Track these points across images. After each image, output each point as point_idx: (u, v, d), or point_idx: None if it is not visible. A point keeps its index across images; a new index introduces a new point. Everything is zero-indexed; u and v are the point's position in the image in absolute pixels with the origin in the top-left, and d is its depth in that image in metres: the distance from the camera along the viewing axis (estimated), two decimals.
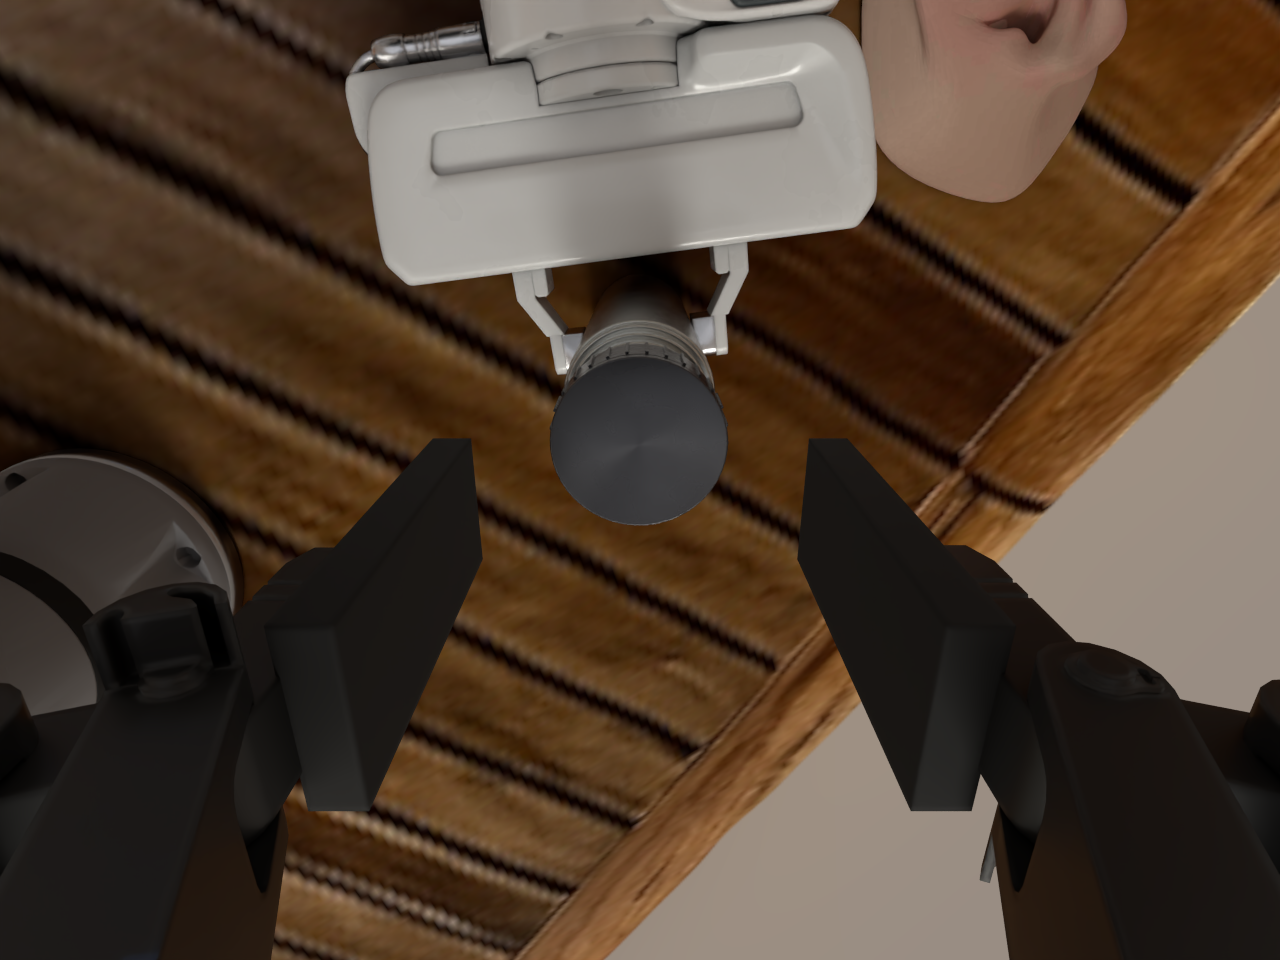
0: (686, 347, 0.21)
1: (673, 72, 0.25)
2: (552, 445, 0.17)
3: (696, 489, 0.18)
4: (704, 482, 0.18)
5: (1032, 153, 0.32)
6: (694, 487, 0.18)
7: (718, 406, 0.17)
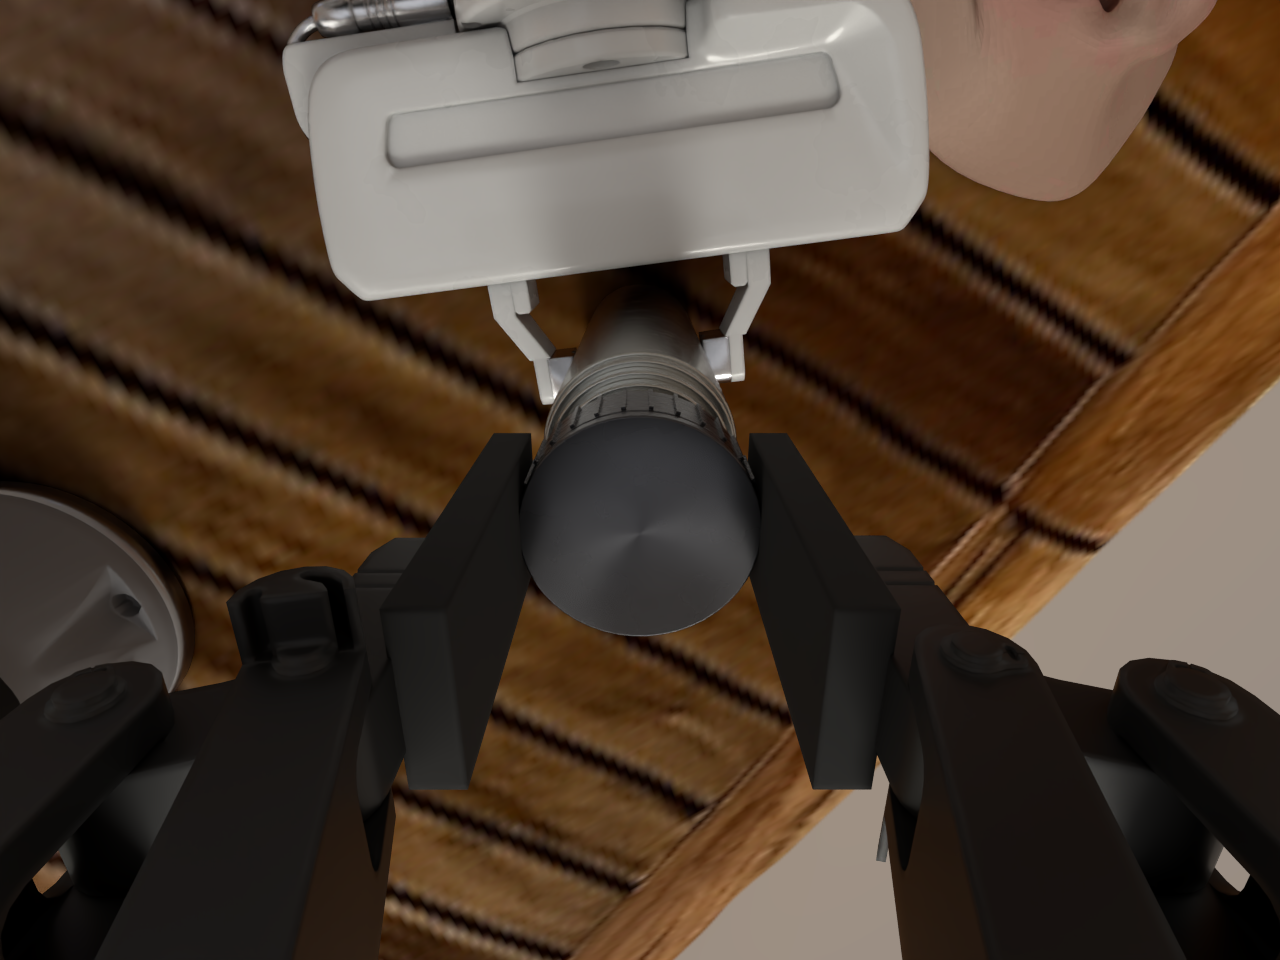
0: (701, 388, 0.16)
1: (681, 40, 0.20)
2: (521, 534, 0.13)
3: (718, 590, 0.13)
4: (729, 582, 0.13)
5: (1099, 143, 0.28)
6: (715, 588, 0.13)
7: (750, 482, 0.12)
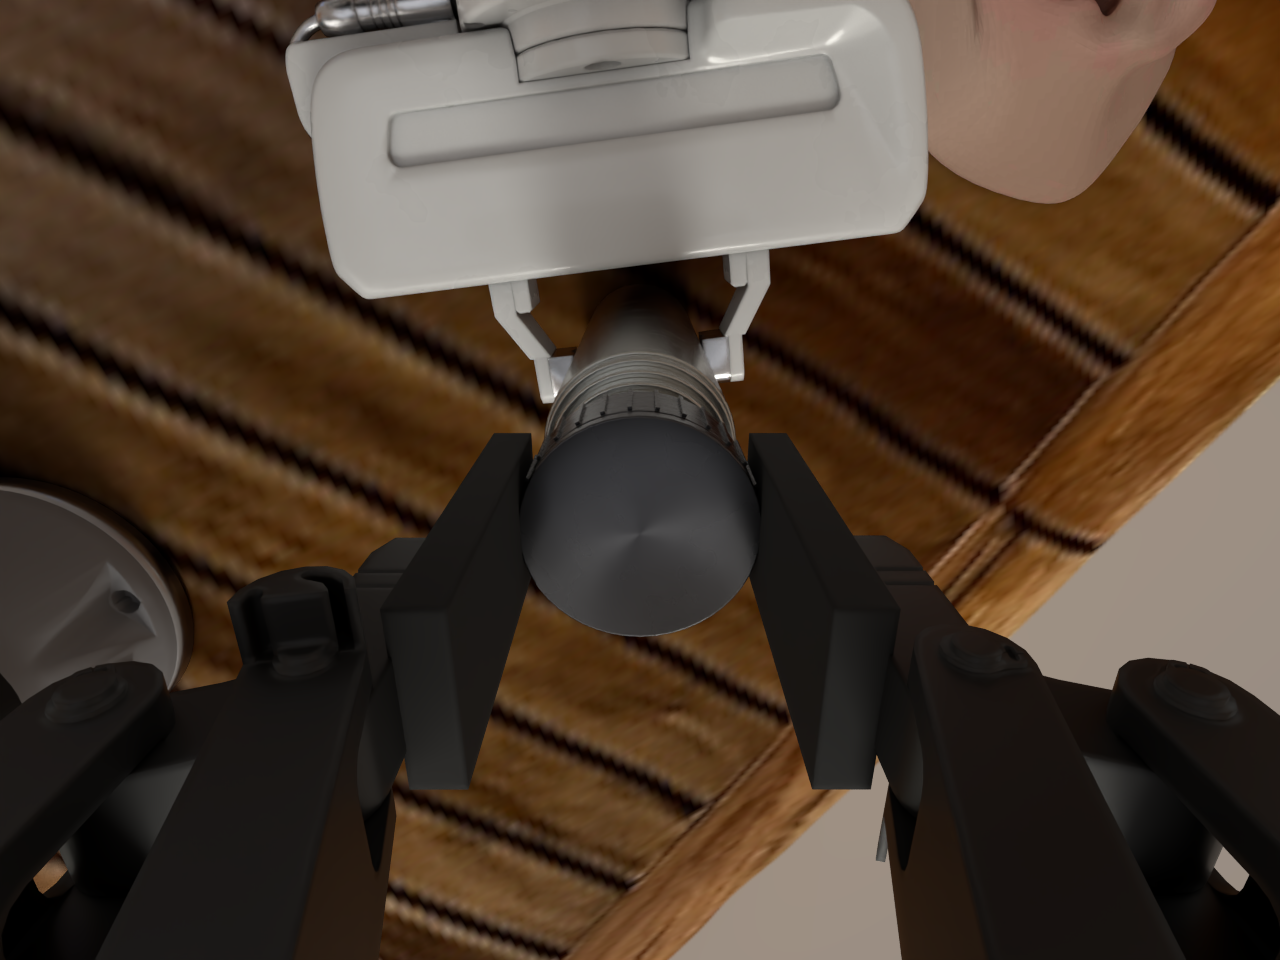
0: (701, 387, 0.16)
1: (683, 41, 0.20)
2: (676, 629, 0.13)
3: (678, 440, 0.12)
4: (663, 434, 0.12)
5: (1098, 146, 0.28)
6: (675, 444, 0.12)
7: (548, 456, 0.12)
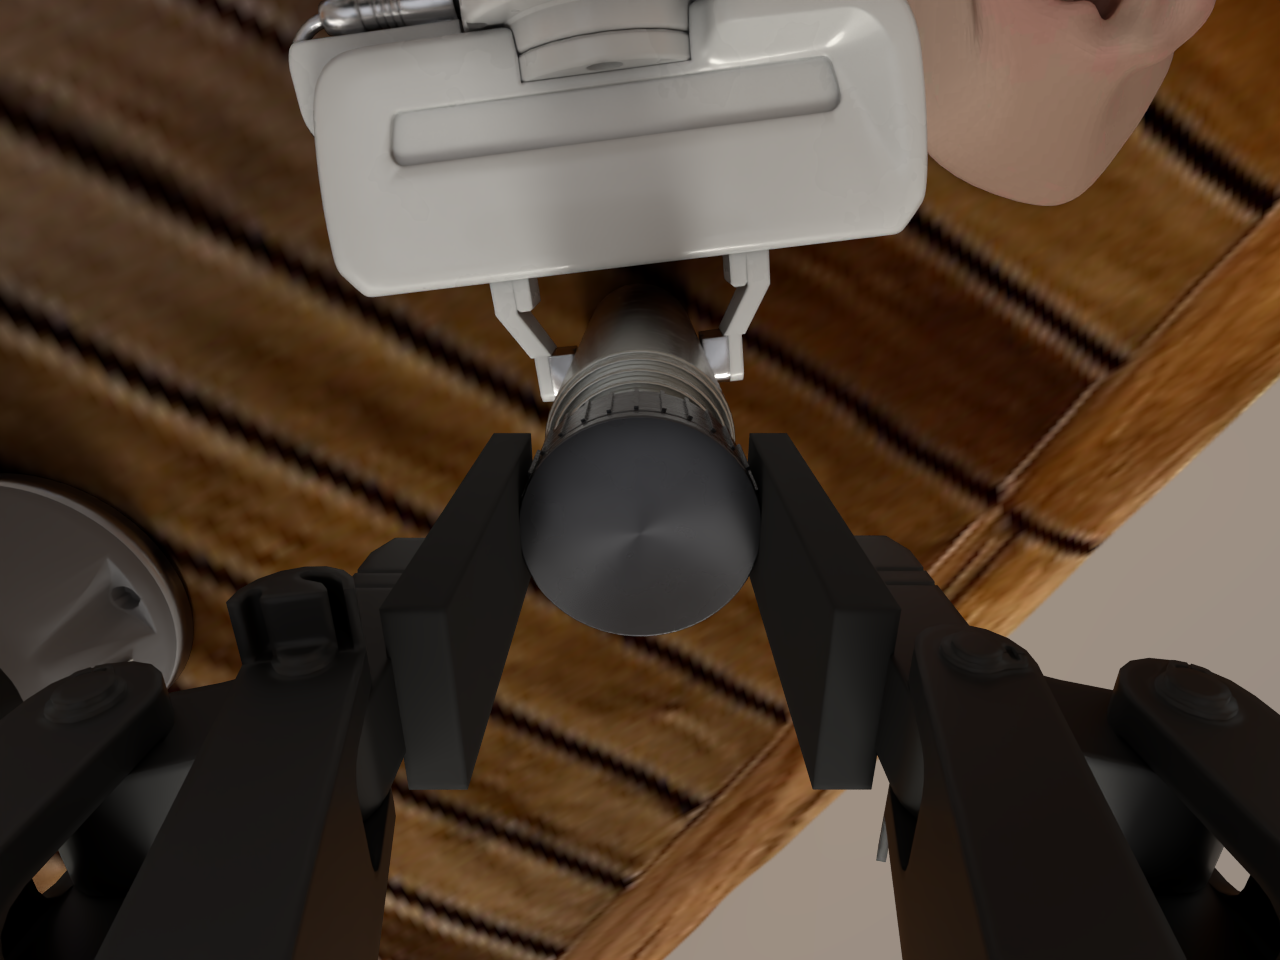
0: (701, 386, 0.16)
1: (684, 43, 0.20)
2: (738, 465, 0.12)
3: (535, 531, 0.13)
4: (534, 545, 0.13)
5: (1096, 149, 0.28)
6: (539, 532, 0.12)
7: None
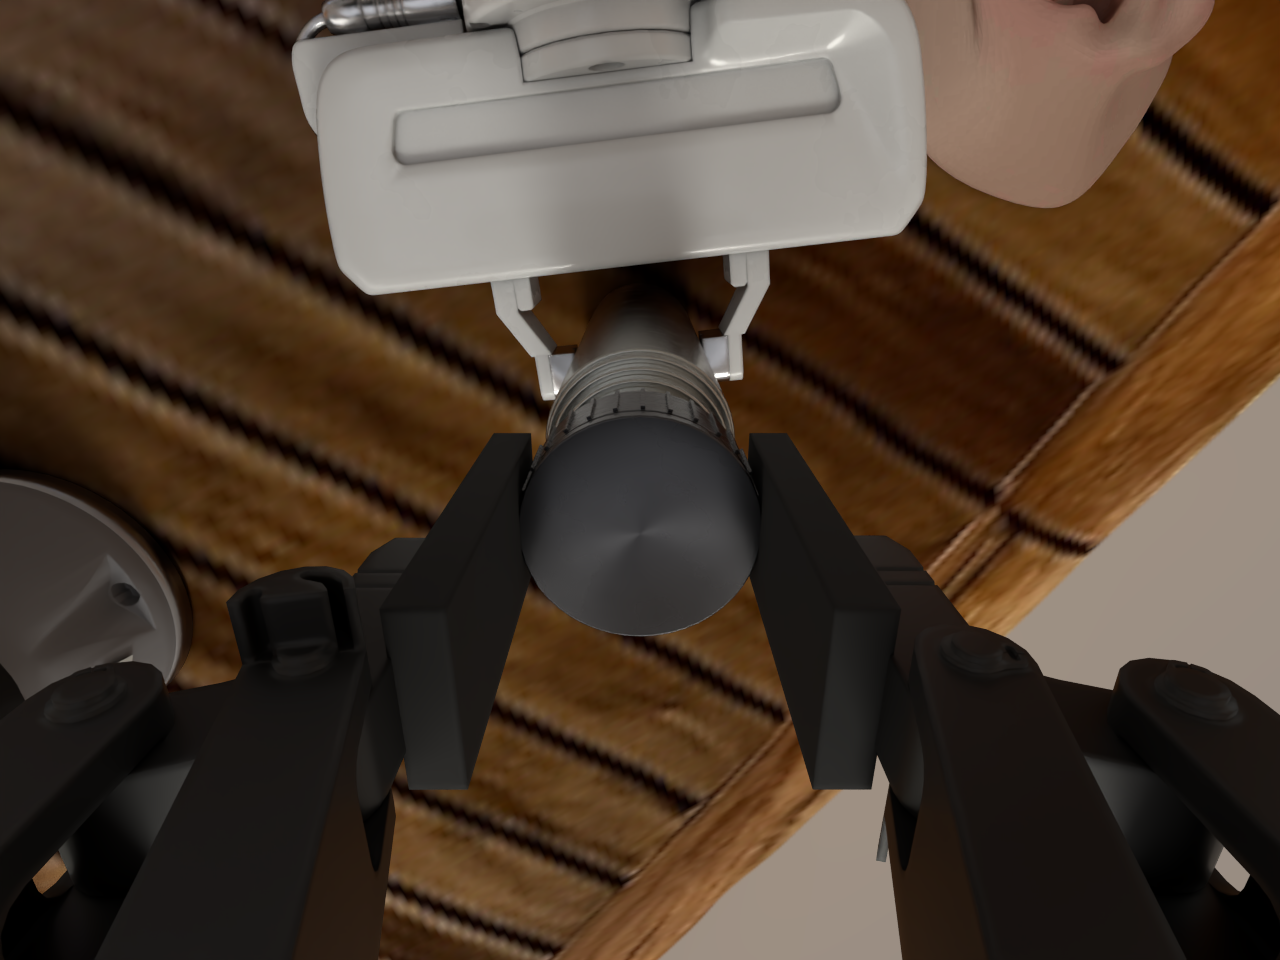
0: (701, 385, 0.16)
1: (686, 44, 0.21)
2: (537, 472, 0.12)
3: (670, 618, 0.13)
4: (684, 616, 0.13)
5: (1094, 152, 0.28)
6: (669, 615, 0.13)
7: None
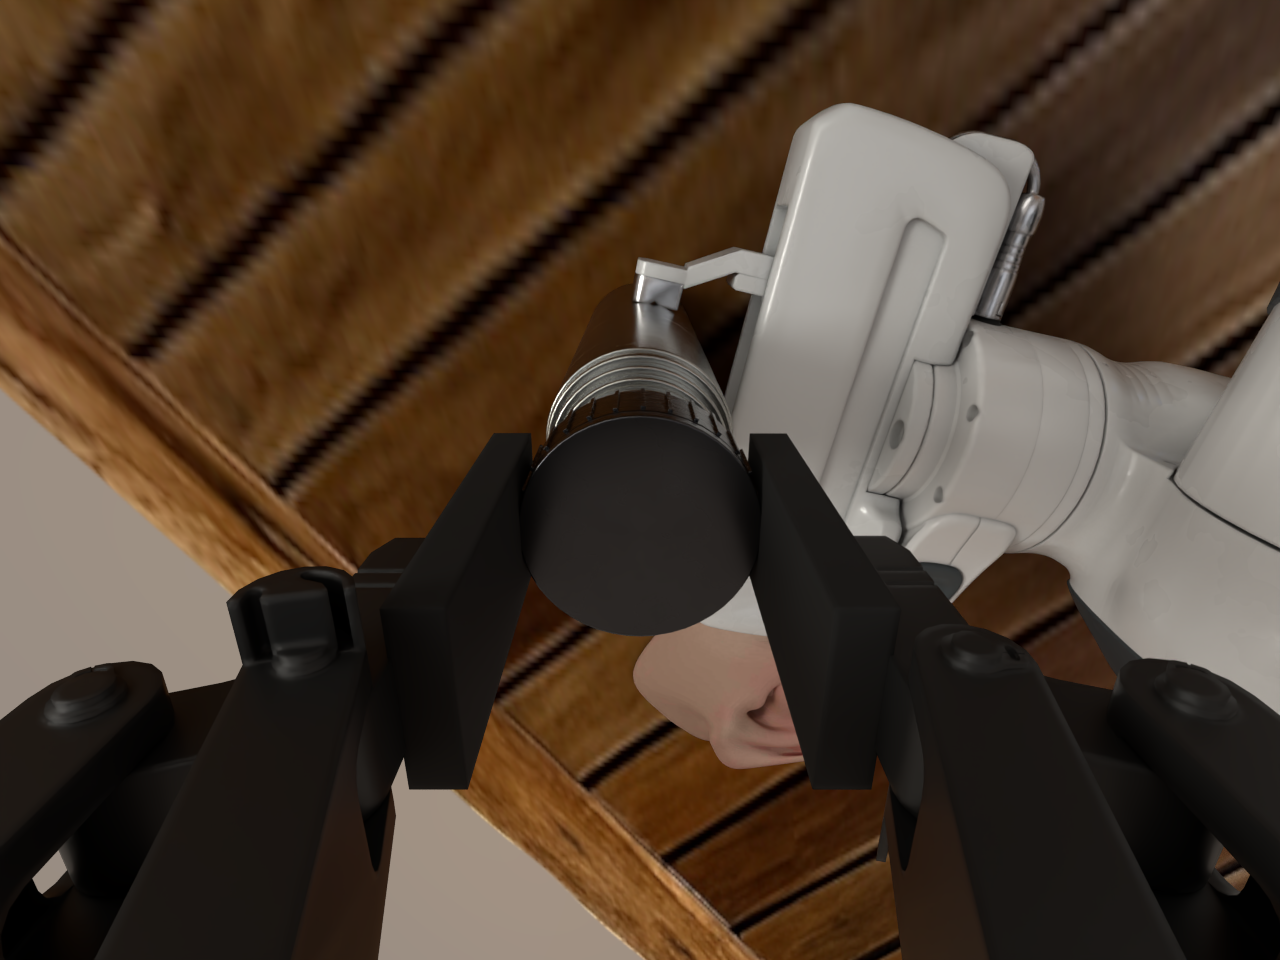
0: None
1: (879, 491, 0.26)
2: (537, 472, 0.12)
3: (670, 618, 0.13)
4: (684, 616, 0.13)
5: (665, 699, 0.39)
6: (669, 615, 0.13)
7: None
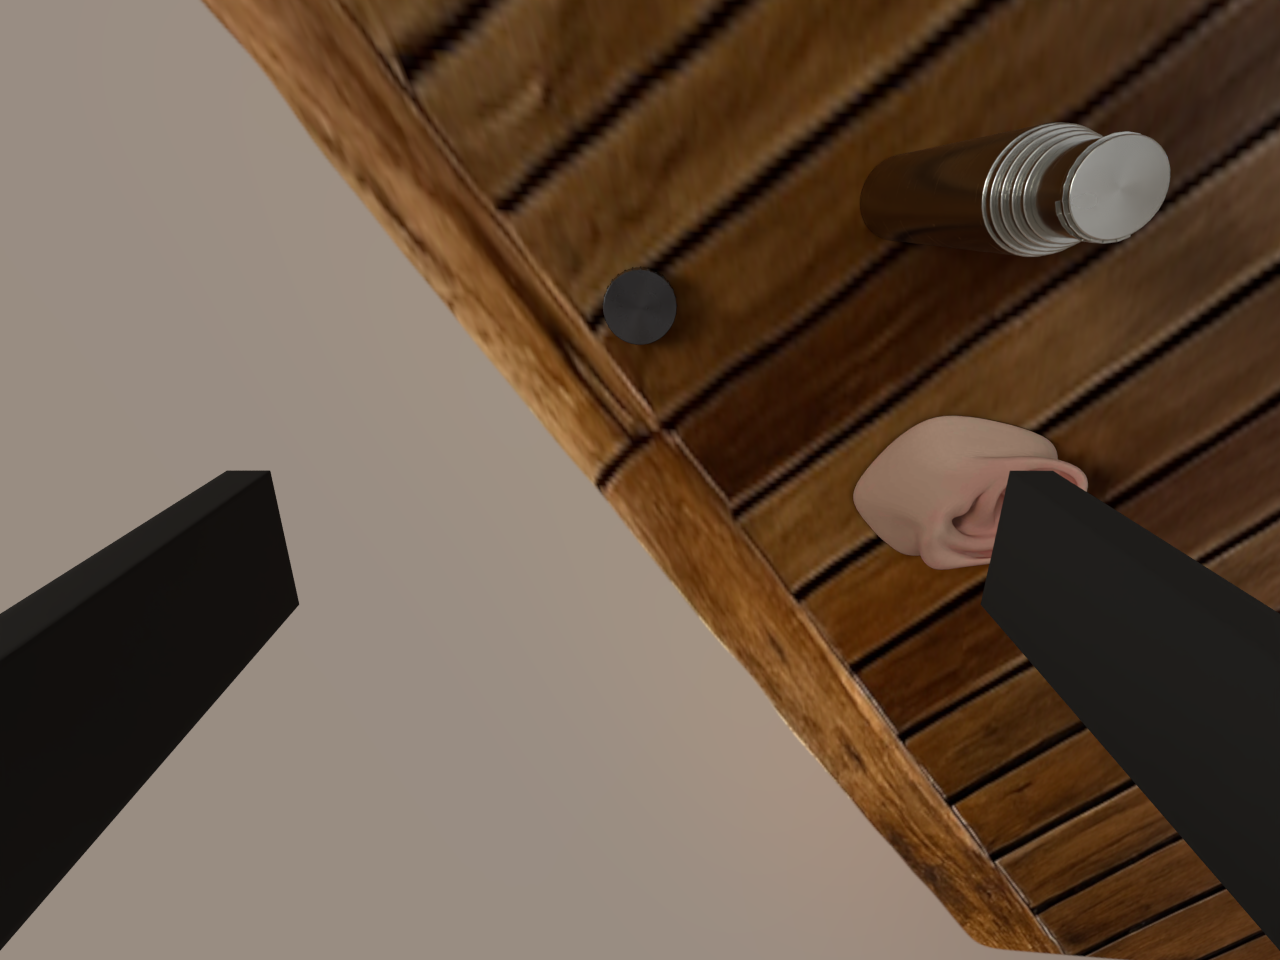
0: None
1: None
2: (609, 287, 0.41)
3: (649, 337, 0.43)
4: (653, 336, 0.43)
5: (881, 511, 0.47)
6: (648, 336, 0.43)
7: (675, 311, 0.42)
